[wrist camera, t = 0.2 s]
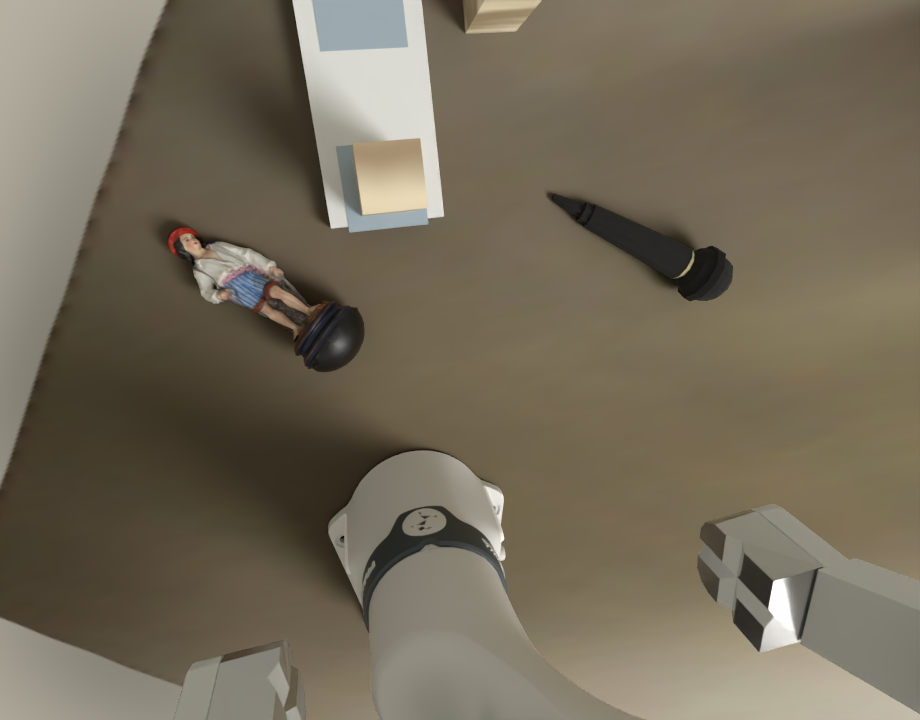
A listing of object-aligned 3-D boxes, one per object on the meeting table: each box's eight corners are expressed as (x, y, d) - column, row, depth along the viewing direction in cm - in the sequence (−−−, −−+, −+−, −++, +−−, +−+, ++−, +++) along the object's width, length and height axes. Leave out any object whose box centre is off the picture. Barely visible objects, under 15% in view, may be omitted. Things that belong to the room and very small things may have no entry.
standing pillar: (412, 210, 44) (428, 208, 35) (361, 216, 43) (362, 214, 34) (406, 156, 43) (420, 138, 33) (353, 161, 42) (352, 143, 33)
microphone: (536, 216, 51) (696, 297, 55) (541, 230, 46) (717, 319, 49) (563, 165, 49) (730, 253, 52) (572, 174, 44) (756, 271, 47)
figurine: (325, 394, 41) (131, 245, 37) (324, 390, 47) (159, 262, 44) (384, 324, 42) (202, 173, 38) (375, 329, 49) (219, 200, 45)
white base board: (442, 222, 46) (444, 222, 45) (332, 234, 45) (331, 234, 43) (413, -46, 40) (415, -56, 39) (286, -43, 39) (283, -54, 37)
